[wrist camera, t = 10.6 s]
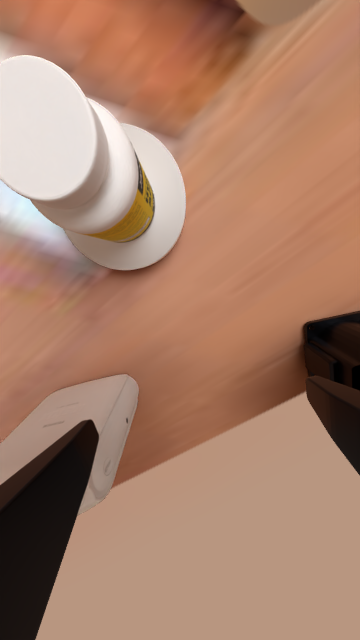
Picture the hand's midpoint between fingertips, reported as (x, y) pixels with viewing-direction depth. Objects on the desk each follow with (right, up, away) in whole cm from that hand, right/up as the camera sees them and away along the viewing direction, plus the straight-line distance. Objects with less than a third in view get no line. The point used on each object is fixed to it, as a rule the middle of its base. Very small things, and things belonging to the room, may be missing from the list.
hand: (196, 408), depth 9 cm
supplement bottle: (-5, +12, +8) cm, 15 cm away
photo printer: (-10, -5, +15) cm, 19 cm away
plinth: (-5, +13, +10) cm, 17 cm away
